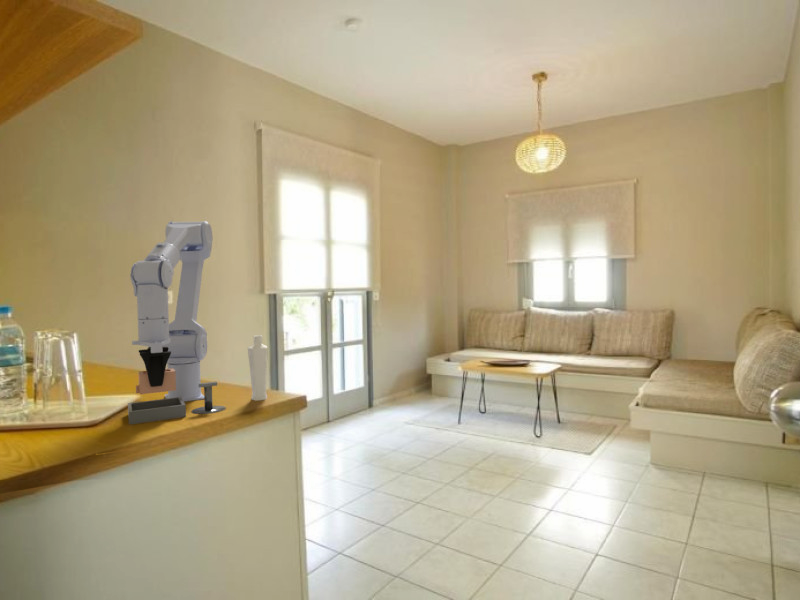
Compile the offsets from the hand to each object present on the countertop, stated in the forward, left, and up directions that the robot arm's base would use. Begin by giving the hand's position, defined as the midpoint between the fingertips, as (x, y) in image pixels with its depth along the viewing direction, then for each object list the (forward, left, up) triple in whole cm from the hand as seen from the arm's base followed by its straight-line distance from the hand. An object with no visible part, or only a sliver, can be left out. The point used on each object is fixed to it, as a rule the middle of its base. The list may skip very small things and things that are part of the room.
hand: (155, 384), depth 102 cm
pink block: (0, 0, -1) cm, 1 cm away
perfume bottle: (-4, +22, -7) cm, 23 cm away
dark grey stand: (+1, +10, -7) cm, 12 cm away
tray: (0, 0, -7) cm, 7 cm away
